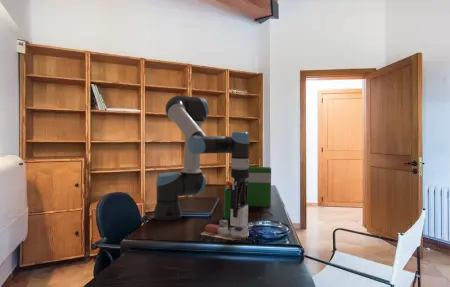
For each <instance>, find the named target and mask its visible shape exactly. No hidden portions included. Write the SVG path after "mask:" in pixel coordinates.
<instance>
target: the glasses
mask: <svg viewBox="0 0 450 287" xmlns="http://www.w3.org/2000/svg"><path fill="white" fill-rule="evenodd" d="M249 208H253V206H248V209H249ZM256 208H257V209H259V210H260V211H261V212H260V211H259V212H258V214H265V213H266V214H269V215H271V216H274V215H273V214H272V213H271V212H268V211H262V209H261V208H260V207H259V206H256ZM253 214H257V212H250V213H249V212H248V215H253Z"/></svg>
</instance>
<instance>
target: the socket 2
mask: <svg viewBox="0 0 450 287" xmlns="http://www.w3.org/2000/svg"><path fill="white" fill-rule="evenodd" d="M248 207H249V206H248V205H242V204H239V209H240V220H239V225H233V209H231V218H230V220H229V221H230V226H232V227H235V226H237V227H246V226H247V225H248V223H249V214H248V213H249V208H248Z"/></svg>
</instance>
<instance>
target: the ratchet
mask: <svg viewBox="0 0 450 287" xmlns="http://www.w3.org/2000/svg"><path fill="white" fill-rule="evenodd" d="M204 228H205V229H204V230H205V231H204V232H209V233H214V234H221V235H227V236H230V237H231V238H233V239H238V240H241V239H246V238H248V236H249V232H250V231H249V230H250V229H249V228H248V227H246V226H244V227H237V226H232V227H228V228H225V227H221V226H220V225H219V224H213V223H208V224H206V225H205V226H204Z"/></svg>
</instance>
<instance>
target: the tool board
mask: <svg viewBox="0 0 450 287" xmlns="http://www.w3.org/2000/svg"><path fill="white" fill-rule="evenodd" d="M200 235H202V236H203V235H204V236H207V237H213V238H219V239H223V240H228V241H229V240H230V241H234V240H238V239H233V238H231V237H230V236H227V235H221V234H214V233H209V232H205V231H203V232H201V233H200Z"/></svg>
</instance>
